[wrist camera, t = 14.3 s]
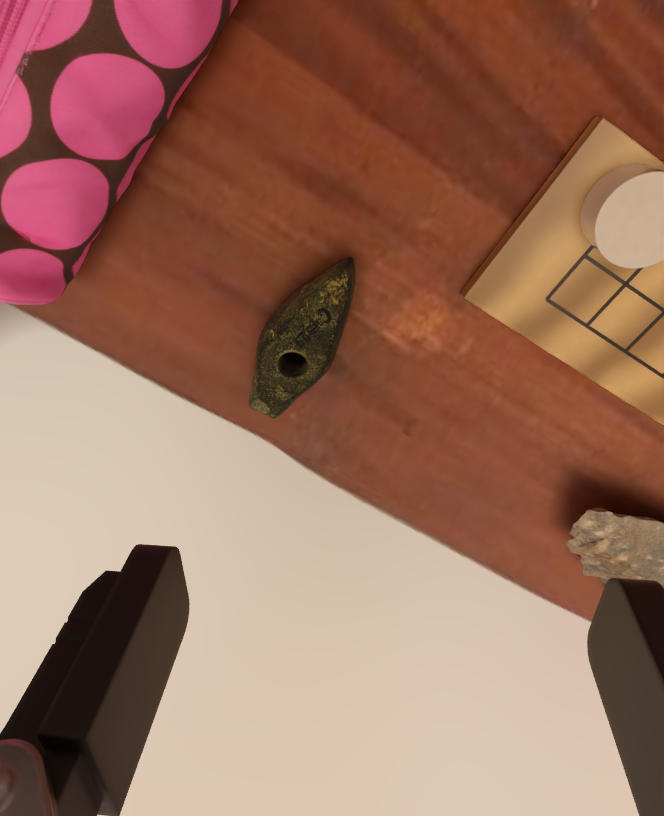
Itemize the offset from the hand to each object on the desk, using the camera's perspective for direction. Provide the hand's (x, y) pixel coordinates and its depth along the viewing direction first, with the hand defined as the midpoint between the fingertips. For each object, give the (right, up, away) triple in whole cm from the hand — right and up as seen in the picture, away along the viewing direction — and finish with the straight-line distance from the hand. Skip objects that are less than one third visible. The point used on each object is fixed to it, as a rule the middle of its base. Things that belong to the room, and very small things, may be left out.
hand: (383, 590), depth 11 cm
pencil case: (-14, +20, +20) cm, 31 cm away
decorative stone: (-5, +7, +22) cm, 23 cm away
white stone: (+14, +14, +19) cm, 27 cm away
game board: (+18, +10, +22) cm, 30 cm away
